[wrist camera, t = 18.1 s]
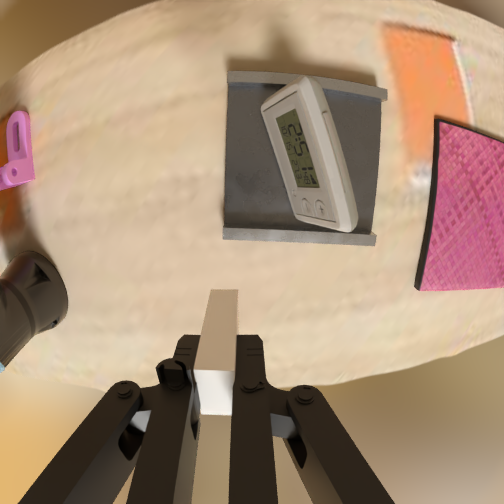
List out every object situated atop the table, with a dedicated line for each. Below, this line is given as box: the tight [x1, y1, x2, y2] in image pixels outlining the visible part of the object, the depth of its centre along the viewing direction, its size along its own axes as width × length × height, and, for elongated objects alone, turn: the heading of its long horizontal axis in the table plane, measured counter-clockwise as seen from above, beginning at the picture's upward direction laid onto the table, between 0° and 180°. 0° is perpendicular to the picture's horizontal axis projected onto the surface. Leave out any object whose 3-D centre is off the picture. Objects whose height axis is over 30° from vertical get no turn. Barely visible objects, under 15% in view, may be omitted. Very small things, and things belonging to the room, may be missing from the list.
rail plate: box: [223, 71, 387, 246], centre depth 34 cm, size 20×21×3 cm
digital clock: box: [261, 75, 358, 232], centre depth 29 cm, size 16×9×11 cm, turn 6°
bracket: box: [0, 111, 35, 191], centre depth 31 cm, size 13×6×7 cm, turn 6°
